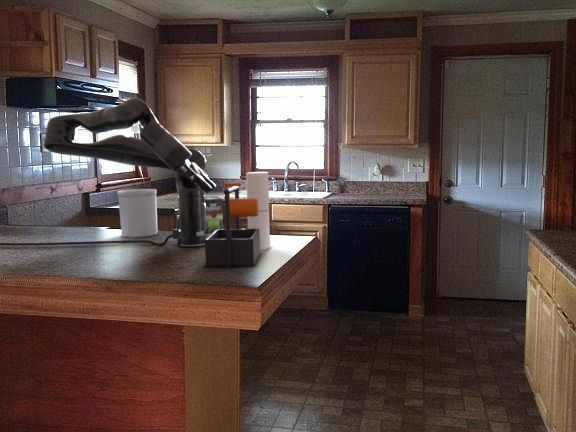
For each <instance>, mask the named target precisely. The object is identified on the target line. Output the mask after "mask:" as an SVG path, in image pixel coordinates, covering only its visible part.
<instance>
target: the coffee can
mask: <svg viewBox="0 0 576 432" xmlns="http://www.w3.org/2000/svg"><path fill="white" fill-rule="evenodd" d="M205 207H206V234H207V237H208V236H209V235H211V234H212V233H213V232H214V231H215V230H216V229H224V226H223V224H224V223H223V197H220V196H205Z"/></svg>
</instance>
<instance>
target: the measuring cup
mask: <svg viewBox="0 0 576 432" xmlns="http://www.w3.org/2000/svg"><path fill="white" fill-rule="evenodd" d="M235 186H239V187H241V186H242V182H226V183H224V190H226V189H228V188H230V187H235ZM229 197H230V218H236V217H240V218H248V217H250V216H258V199H257V198H247V197H245V198H239V199H235V198H231V193H230V194H229Z"/></svg>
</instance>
